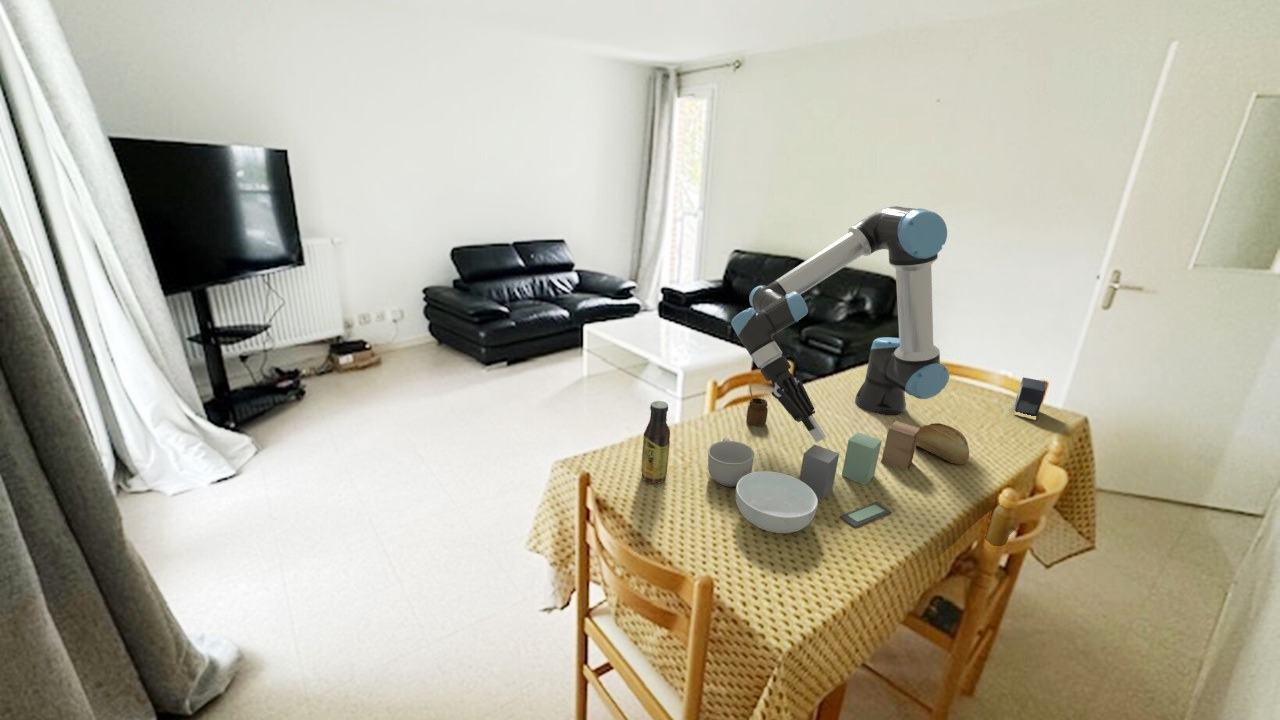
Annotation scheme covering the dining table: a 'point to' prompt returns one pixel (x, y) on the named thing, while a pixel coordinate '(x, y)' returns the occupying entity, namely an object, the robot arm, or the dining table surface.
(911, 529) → the dining table surface
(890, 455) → the walnut block
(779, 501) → the cereal bowl
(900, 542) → the dining table surface
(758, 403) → the utensil holder
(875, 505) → the card
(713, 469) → the teacup
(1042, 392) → the small box
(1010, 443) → the dining table surface
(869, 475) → the sage block
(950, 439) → the bread roll
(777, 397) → the robot arm
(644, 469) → the sauce bottle
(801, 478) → the charcoal block
